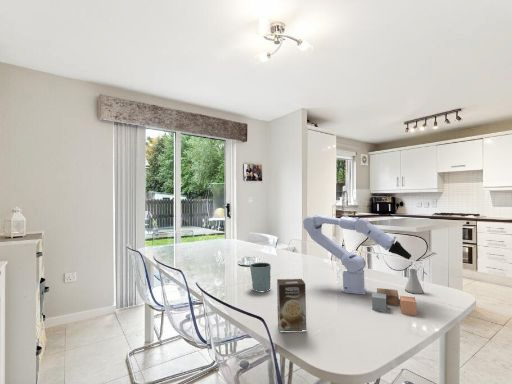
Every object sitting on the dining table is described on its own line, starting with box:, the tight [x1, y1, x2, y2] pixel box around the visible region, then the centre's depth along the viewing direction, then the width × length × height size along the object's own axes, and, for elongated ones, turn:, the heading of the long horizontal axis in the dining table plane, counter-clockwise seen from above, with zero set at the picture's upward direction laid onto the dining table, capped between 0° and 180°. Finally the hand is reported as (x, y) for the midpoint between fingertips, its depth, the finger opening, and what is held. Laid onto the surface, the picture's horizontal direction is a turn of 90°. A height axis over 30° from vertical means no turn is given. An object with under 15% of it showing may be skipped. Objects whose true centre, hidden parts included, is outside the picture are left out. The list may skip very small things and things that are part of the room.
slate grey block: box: [371, 292, 387, 312], centre depth 110 cm, size 5×5×5 cm
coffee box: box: [276, 278, 307, 332], centre depth 96 cm, size 9×6×16 cm
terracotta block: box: [399, 295, 417, 316], centre depth 106 cm, size 5×5×5 cm
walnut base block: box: [376, 287, 400, 307], centre depth 117 cm, size 8×8×4 cm
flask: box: [404, 268, 425, 295], centre depth 127 cm, size 7×7×10 cm
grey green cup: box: [249, 262, 272, 292], centre depth 137 cm, size 10×10×12 cm
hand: (409, 257), depth 115 cm, fingers open, 7 cm apart
